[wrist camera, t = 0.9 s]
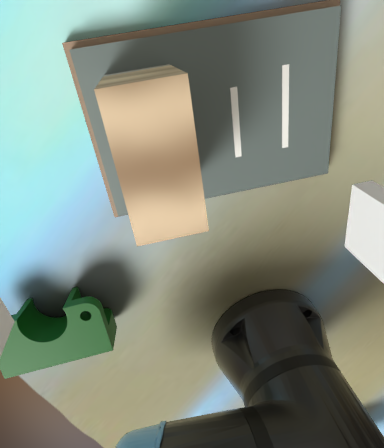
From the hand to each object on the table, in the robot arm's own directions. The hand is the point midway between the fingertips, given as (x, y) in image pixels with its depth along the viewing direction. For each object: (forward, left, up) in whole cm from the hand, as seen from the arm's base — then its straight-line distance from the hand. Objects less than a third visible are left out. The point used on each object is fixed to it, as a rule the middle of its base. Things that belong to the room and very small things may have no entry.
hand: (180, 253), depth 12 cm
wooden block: (0, 0, -18) cm, 18 cm away
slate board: (0, -6, -20) cm, 21 cm away
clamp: (-18, +14, -21) cm, 31 cm away
